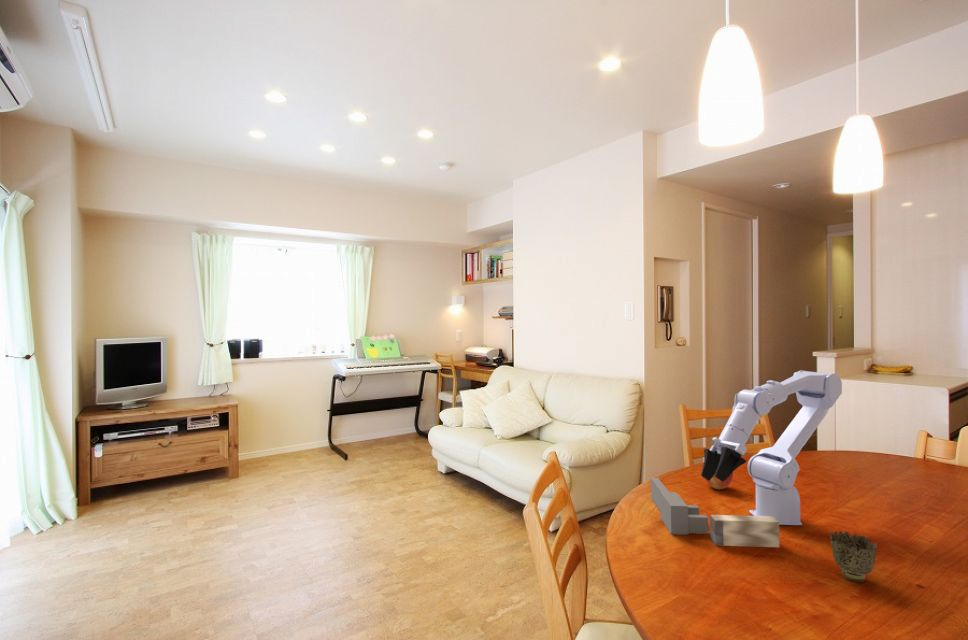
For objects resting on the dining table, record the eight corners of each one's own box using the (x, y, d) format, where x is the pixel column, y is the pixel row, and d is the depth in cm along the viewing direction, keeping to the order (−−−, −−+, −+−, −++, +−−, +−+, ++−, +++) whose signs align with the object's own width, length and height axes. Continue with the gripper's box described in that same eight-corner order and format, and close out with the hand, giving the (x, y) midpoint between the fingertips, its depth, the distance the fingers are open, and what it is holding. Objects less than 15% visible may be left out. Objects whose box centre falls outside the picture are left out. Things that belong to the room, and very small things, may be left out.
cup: (886, 591, 91) (885, 549, 91) (842, 587, 92) (842, 546, 92) (863, 570, 98) (863, 532, 98) (823, 567, 100) (823, 529, 99)
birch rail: (772, 541, 111) (772, 516, 111) (779, 547, 108) (779, 521, 108) (710, 539, 113) (710, 514, 113) (715, 545, 110) (715, 520, 110)
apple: (722, 494, 140) (722, 461, 140) (698, 486, 147) (697, 454, 147) (738, 489, 144) (738, 456, 144) (714, 481, 151) (713, 450, 151)
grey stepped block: (679, 498, 137) (679, 474, 137) (709, 535, 115) (709, 506, 115) (647, 498, 138) (647, 474, 138) (671, 534, 115) (670, 505, 115)
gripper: (709, 424, 126) (685, 468, 123) (736, 420, 112) (710, 469, 109) (733, 440, 125) (709, 484, 122) (764, 437, 111) (738, 487, 108)
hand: (711, 478), depth 115 cm, fingers open, 7 cm apart
